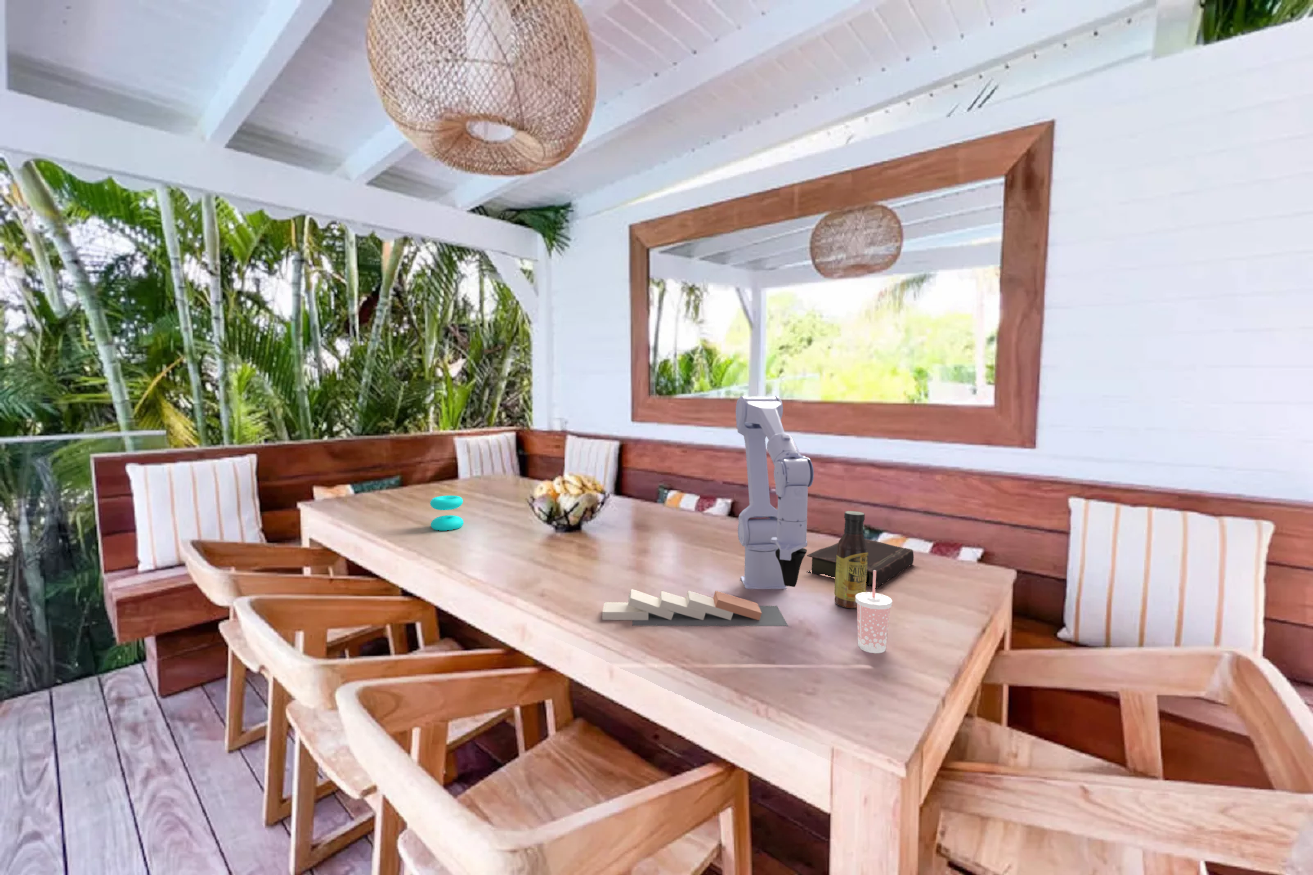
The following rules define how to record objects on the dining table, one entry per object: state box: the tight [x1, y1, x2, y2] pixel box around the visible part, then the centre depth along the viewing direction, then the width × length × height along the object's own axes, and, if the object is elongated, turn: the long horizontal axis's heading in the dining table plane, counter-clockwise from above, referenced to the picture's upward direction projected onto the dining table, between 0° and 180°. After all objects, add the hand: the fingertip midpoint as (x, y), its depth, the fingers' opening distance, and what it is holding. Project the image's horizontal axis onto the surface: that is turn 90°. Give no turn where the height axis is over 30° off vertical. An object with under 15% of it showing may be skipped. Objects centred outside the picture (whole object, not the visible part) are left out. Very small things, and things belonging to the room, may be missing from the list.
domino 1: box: [601, 601, 648, 621], centre depth 114 cm, size 2×5×9 cm
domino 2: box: [627, 588, 674, 620], centre depth 114 cm, size 2×5×9 cm
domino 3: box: [658, 590, 705, 620], centre depth 114 cm, size 2×5×9 cm
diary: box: [806, 538, 915, 589], centre depth 145 cm, size 19×25×5 cm
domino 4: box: [685, 590, 733, 620], centre depth 114 cm, size 2×5×9 cm
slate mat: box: [631, 605, 789, 627], centre depth 114 cm, size 30×10×1 cm, turn 90°
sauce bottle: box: [833, 510, 868, 609], centre depth 120 cm, size 6×6×20 cm
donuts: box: [429, 495, 464, 532], centre depth 184 cm, size 10×10×10 cm
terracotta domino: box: [712, 590, 762, 620], centre depth 114 cm, size 2×5×9 cm
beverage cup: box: [855, 570, 893, 654], centre depth 100 cm, size 6×6×14 cm
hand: (790, 585), depth 114 cm, fingers closed
